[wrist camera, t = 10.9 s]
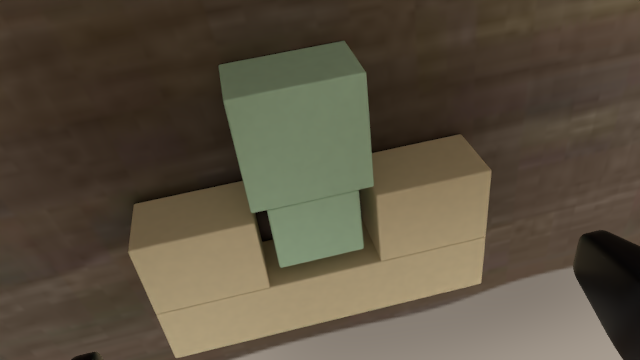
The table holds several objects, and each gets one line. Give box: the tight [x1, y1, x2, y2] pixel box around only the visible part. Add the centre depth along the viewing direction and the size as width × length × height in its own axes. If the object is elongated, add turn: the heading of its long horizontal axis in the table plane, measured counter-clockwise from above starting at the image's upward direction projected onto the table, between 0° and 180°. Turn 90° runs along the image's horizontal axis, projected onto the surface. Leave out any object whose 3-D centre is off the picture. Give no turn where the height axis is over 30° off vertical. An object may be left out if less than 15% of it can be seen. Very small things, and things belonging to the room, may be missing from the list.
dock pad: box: [128, 134, 491, 358], centre depth 20 cm, size 12×6×2 cm, turn 97°
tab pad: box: [218, 41, 374, 268], centre depth 18 cm, size 7×4×2 cm, turn 7°
